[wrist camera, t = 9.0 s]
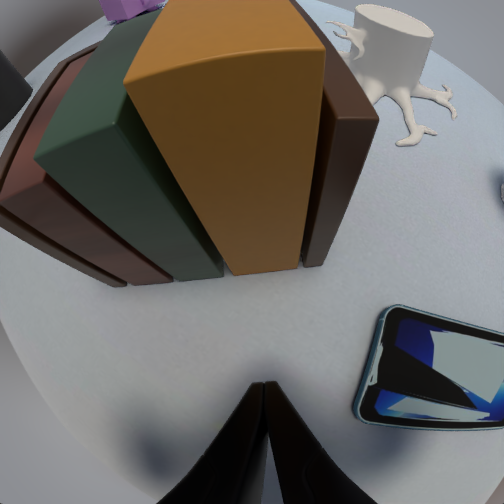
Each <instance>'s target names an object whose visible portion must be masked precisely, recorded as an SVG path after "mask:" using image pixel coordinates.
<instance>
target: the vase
mask: <svg viewBox="0 0 504 504" xmlns="http://www.w3.org/2000/svg"><path fill="white" fill-rule="evenodd" d="M32 91H33V89H32V88H31V86H30V85H29V84H28V83H27V82H26V81H25V79H24V78H23V77H22V76H21V74H20V73H19V72H18V71H17V70H16V68H14V66H13V65H12V64H11V62H10V61H9V60H8V59H7V58H6V56H5V55H4V54H3V52H2V51H1V50H0V131H1V130H2V129H3V128H4V127H5V126H6V125H7V124H8V123H9V122H10V121H11V120H12V119H13V117H14V116H15V115H16V114H17V113H18V112H19V110H20V109H21V108H22V107H23V105H24V104H25V103H26V101H27V100H28V99H29V97H30V95H31V93H32Z"/></svg>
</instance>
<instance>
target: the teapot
mask: <svg viewBox="0 0 504 504" xmlns="http://www.w3.org/2000/svg"><path fill="white" fill-rule="evenodd" d="M164 1H165V0H99V2H100V4H101V7H102V9H103V11H104V14H105V16H106V18H107V20H108V21H111V20H117V22H116V23H120V22H122V21H124V20H125V19H127V21H128V20H130V19H133V18H136V15H137V14H139V13H141V12H143V11H145V10H147V11H153V10H156V9H157V8H158V7H157V6H155V5H157V4H159V3H162V2H164Z"/></svg>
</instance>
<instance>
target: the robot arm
mask: <svg viewBox="0 0 504 504" xmlns="http://www.w3.org/2000/svg"><path fill="white" fill-rule="evenodd" d="M268 437H269V438H270V443H271V448H272V452H273V457H274V462H275V466H276V471H277V475H278V480H279V484H280V489H281V493H282V497H283V502H284V504H378V503H376V502H375V501H374V500H373V499H372V498H371V497H370V496H368V495H367V494H366V493H365V492H364V491H363V490H362V489H360V488H359V487H358V486H357V485H356V484H355V483H354V482H353V481H352V480H351V479H349V478H348V477H347V476H346V475H345V474H344V472H343V471H342V470H341V469H340V468H339V467H338V466H337V465H336V464H335V463H334V461H333V460H332V459H331V458H330V456H329V455H328V454H327V452H326V451H325V450H324V448H322V446H321V445H320V443H319V442H318V441H317V439H316V438H315V436H314V435H313V434H312V432H311V431H310V429H309V428H308V427H307V425H306V424H305V422H304V421H303V419H302V418H301V417H300V415H299V414H298V412H297V411H296V409H295V408H294V406H293V405H292V403H291V402H290V400H289V399H288V398H287V396H286V395H285V393H284V392H283V390H282V389H281V387H280V386H279V384H278V383H277V381H267V382H265V383H263V382H256V383H252V384H251V385H250V386H249V388H248V390H247V391H246V393H245V394H244V396H243V397H242V399H241V400H240V402H239V403H238V405H237V406H236V408H235V409H234V411H233V412H232V414H231V415H230V417H229V418H228V420H227V421H226V423H225V424H224V426H223V427H222V428H221V430H220V431H219V433H218V434H217V436H216V437H215V438H214V440H213V441H212V443H211V444H210V445H209V447H208V448H207V449H206V451H205V452H204V455H202V456H201V457H200V458H199V460H198V461H197V463H196V464H195V465H194V466H193V468H192V469H191V470H190V471H189V472H188V474H187V475H186V476H185V477H184V478H183V479H182V480H181V481H180V482H179V483H178V484H177V485H176V486H175V487H174V488H173V489H172V490H171V491H170V492H169V493H168V494H166V495H165V496H164V497H163V498H162V499H161V500H160V501H159V502H158V503H156V504H261V499H262V491H263V483H264V475H265V466H266V457H267V448H268ZM0 504H1V503H0ZM503 504H504V503H503Z"/></svg>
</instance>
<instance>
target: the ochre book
mask: <svg viewBox="0 0 504 504" xmlns="http://www.w3.org/2000/svg"><path fill="white" fill-rule="evenodd" d="M325 58H326V49H325V47H324V45H323V44H322V42H321V41H320V40H319V38H318V37H317V35H316V34H315V33H314V31H313V30H312V29H311V27H310V26H309V25H308V23H307V22H306V21H305V20H304V18H303V17H302V16H301V14H300V13H299V12H298V11H297V10H296V8H295V7H294V6H293V5H292V4H291V2H290V1H289V0H169V1H168V2H167V4H166V5H165V7H164V8H163V10H162V11H161V13H160V14H159V16H158V17H157V19H156V21H155V22H154V24H153V26H152V27H151V29H150V31H149V32H148V34H147V36H146V37H145V39H144V41H143V43H142V45H141V46H140V48H139V50H138V52H137V54H136V56H135V58H134V60H133V62H132V64H131V66H130V68H129V70H128V72H127V74H126V76H125V78H124V80H123V85H124V87H125V89H126V91H127V93H128V95H129V96H130V98H131V100H132V102H133V104H134V106H135V107H136V109H137V111H138V113H139V115H140V117H141V118H142V120H143V122H144V124H145V126H146V127H147V129H148V131H149V133H150V135H151V136H152V138H153V140H154V142H155V144H156V145H157V147H158V149H159V151H160V152H161V154H162V156H163V158H164V159H165V161H166V163H167V165H168V166H169V168H170V170H171V172H172V173H173V175H174V177H175V178H176V180H177V182H178V184H179V185H180V187H181V189H182V190H183V192H184V194H185V196H186V197H187V199H188V201H189V202H190V204H191V206H192V207H193V209H194V211H195V213H196V214H197V216H198V218H199V219H200V221H201V223H202V224H203V226H204V228H205V229H206V231H207V233H208V234H209V236H210V237H211V239H212V241H213V242H214V244H215V246H216V247H217V249H218V251H219V252H220V254H221V256H222V257H223V259H224V260H225V262H226V264H227V265H228V267H229V268H230V270H231V272H232V273H233V275H234V276H236V275H245V274H254V273H263V272H271V271H280V270H288V269H296V268H297V267H298V262H299V256H300V251H301V245H302V239H303V234H304V228H305V222H306V215H307V209H308V203H309V196H310V190H311V183H312V176H313V169H314V161H315V154H316V146H317V138H318V130H319V121H320V112H321V102H322V92H323V82H324V70H325Z"/></svg>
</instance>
